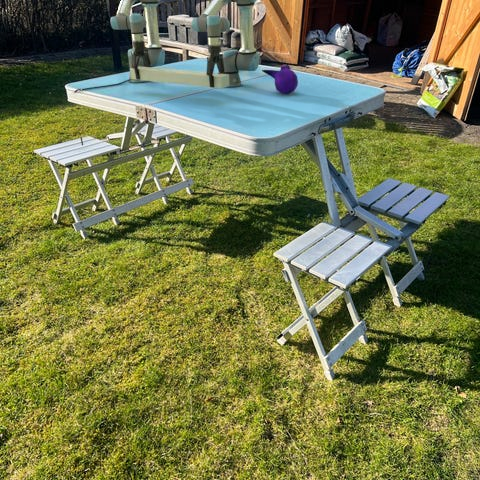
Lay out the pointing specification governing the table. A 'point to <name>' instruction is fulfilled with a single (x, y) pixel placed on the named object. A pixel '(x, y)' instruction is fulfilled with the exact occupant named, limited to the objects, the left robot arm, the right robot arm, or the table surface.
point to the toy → (284, 79)
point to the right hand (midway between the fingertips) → (216, 85)
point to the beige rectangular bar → (180, 77)
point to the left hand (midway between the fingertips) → (142, 77)
